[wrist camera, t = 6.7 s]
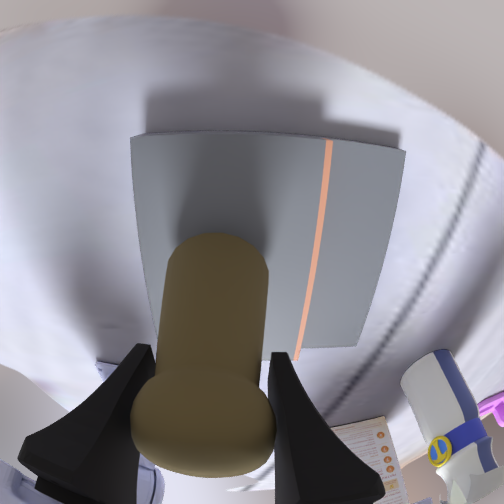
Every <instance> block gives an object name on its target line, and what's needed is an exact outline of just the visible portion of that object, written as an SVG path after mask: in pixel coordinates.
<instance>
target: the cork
mask: <svg viewBox="0 0 504 504" xmlns="http://www.w3.org/2000/svg"><path fill="white" fill-rule="evenodd" d="M268 285H269V270H268V267H267V265H266V262H265V259H264V257H263V256H262V255H261V254H260V253H259V251H258V250H257V249H256V248H255V247H254V246H253V245H251V244H250V243H248V242H247V241H245V240H243V239H242V238H240V237H237V236H233V235H229V234H226V233H203V234H200V235H197V236H194V237H191V238H188V239H187V240H185V241H184V242H183V243H181V244H180V245H179V246H178V247H176V248H175V250H174V251H173V253H172V255H171V256H170V258H169V259H168V264H167V270H166V276H165V283H164V290H163V298H162V306H161V314H160V323H159V332H158V342H157V353H156V365H155V376H154V377H152V378H151V379H149V380H148V381H147V382H146V383H145V384H144V386H143V387H142V388H141V390H140V391H139V393H138V394H137V396H136V398H135V399H134V401H133V405H132V409H131V413H130V424H131V436H132V439H133V441H134V444H135V446H136V448H137V450H138V451H139V452H140V453H141V454H142V455H143V456H144V457H145V458H146V459H148V460H149V461H150V462H152V463H154V464H155V465H157V466H159V467H162V468H164V469H167V470H170V471H173V472H176V473H180V474H184V475H189V476H195V477H205V478H218V477H219V478H221V477H233V476H239V475H244V474H247V473H250V472H252V471H254V470H256V469H258V468H259V467H261V466H262V465H263V464H265V463H266V462H267V460H268V459H269V457H270V455H271V454H272V452H273V449H274V444H275V439H276V433H277V424H276V416H275V413H274V411H273V408H272V406H271V403H270V401H269V400H268V398H267V397H266V395H265V393H264V392H263V391H262V390H261V389H260V388H259V382H260V372H261V362H262V351H263V341H264V330H265V319H266V308H267V296H268Z"/></svg>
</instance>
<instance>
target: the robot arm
mask: <svg viewBox="0 0 504 504" xmlns="http://www.w3.org/2000/svg"><path fill="white" fill-rule="evenodd" d="M155 365H156V363H155V360H154V356H153V353H152V349H151V345H148V344H140V343H137V344H136V345H135V346H134V347H133V349H132V350H131V351H130V352H129V354H128V355H127V356H126V357H125V358H124V360H123V361H122V362H121V363H120V364H119V365H113V364H108V363H103V362H96V364H95V366H96V368H97V370H98V372H99V374H100V376H101V378H102V380H103V383H102V384H101V385H100V386H99V387H98V388H97V389H96V390H95V391H94V392H93V393H92V394H91V395H90V396H89V397H88V398H87V399H86V400H85V401H83V402H82V403H81V404H80V405H79V406H77V407H76V408H75V409H74V410H72V411H71V412H70V413H68V414H67V415H65V416H64V417H63V418H61V419H60V420H58V421H56V422H54V423H53V424H51V425H50V426H48V427H46V428H44V429H42V430H40V431H38V432H36V433H34V434H31V435H29V436H27V437H26V438H25V440H24V443H23V445H22V448H21V450H20V453H19V455H18V460H19V462H20V463H21V464H22V465H24V466H25V467H26V468H28V469H29V470H30V471H32V472H33V473H34V474H36V475H37V476H38V478H37V481H34V480H32V479H30V478H29V477H27V476H25V475H23V474H22V473H21V472H20V471H18V470H17V469H15V468H14V467H13V466H11V465H9V464H8V463H6V462H5V461H3V460H1V459H0V504H161V503H162V500H163V496H164V487H165V484H164V478H163V476H162V474H161V471H160V470H159V469H157V468H155V464H154V463H152V462H150V461H149V460H148V459H146V458H145V457H144V456H143V455H142V454H141V453H140V452H139V451H138V450H137V448H136V446H135V444H134V441H133V439H132V436H131V424H130V413H131V409H132V405H133V401H134V399H135V398H136V396H137V394H138V393H139V391H140V390H141V388H142V387H143V386H144V384H145V383H146V382H147V381H148V380H149V379H151V378H152V377H154V376H155ZM268 400H269V401H270V403H271V406H272V408H273V411H274V413H275V416H276V424H277V433H276V439H275V444H274V452H275V504H373V503H374V502H376V501H378V500H380V499H381V498H383V497H384V496H385V494H386V492H385V487H384V484H383V482H382V479H381V477H380V475H379V473H377V472H376V471H375V470H373V469H372V468H371V467H369V466H368V465H367V464H366V463H364V462H363V461H362V460H361V459H360V458H359V457H357V456H356V455H355V454H354V453H353V452H352V451H351V450H350V449H349V448H348V447H347V446H346V445H345V444H344V443H343V442H342V441H341V440H340V439H339V438H338V437H337V435H336V434H335V433H334V432H333V431H332V430H331V428H330V427H329V426H328V425H327V423H326V422H325V421H324V419H323V418H322V417H321V415H320V414H319V412H318V411H317V409H316V408H315V406H314V405H313V403H312V402H311V400H310V398H309V397H308V395H307V393H306V391H305V390H304V388H303V386H302V384H301V382H300V380H299V378H298V376H297V374H296V372H295V370H294V368H293V365H292V363H291V360H290V358H289V355H288V353H287V352H271V360H270V367H269V375H268ZM413 504H433V502H432V498H430V497H429V498H426V499H424V500H422V501H419V502H416V503H413Z"/></svg>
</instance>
